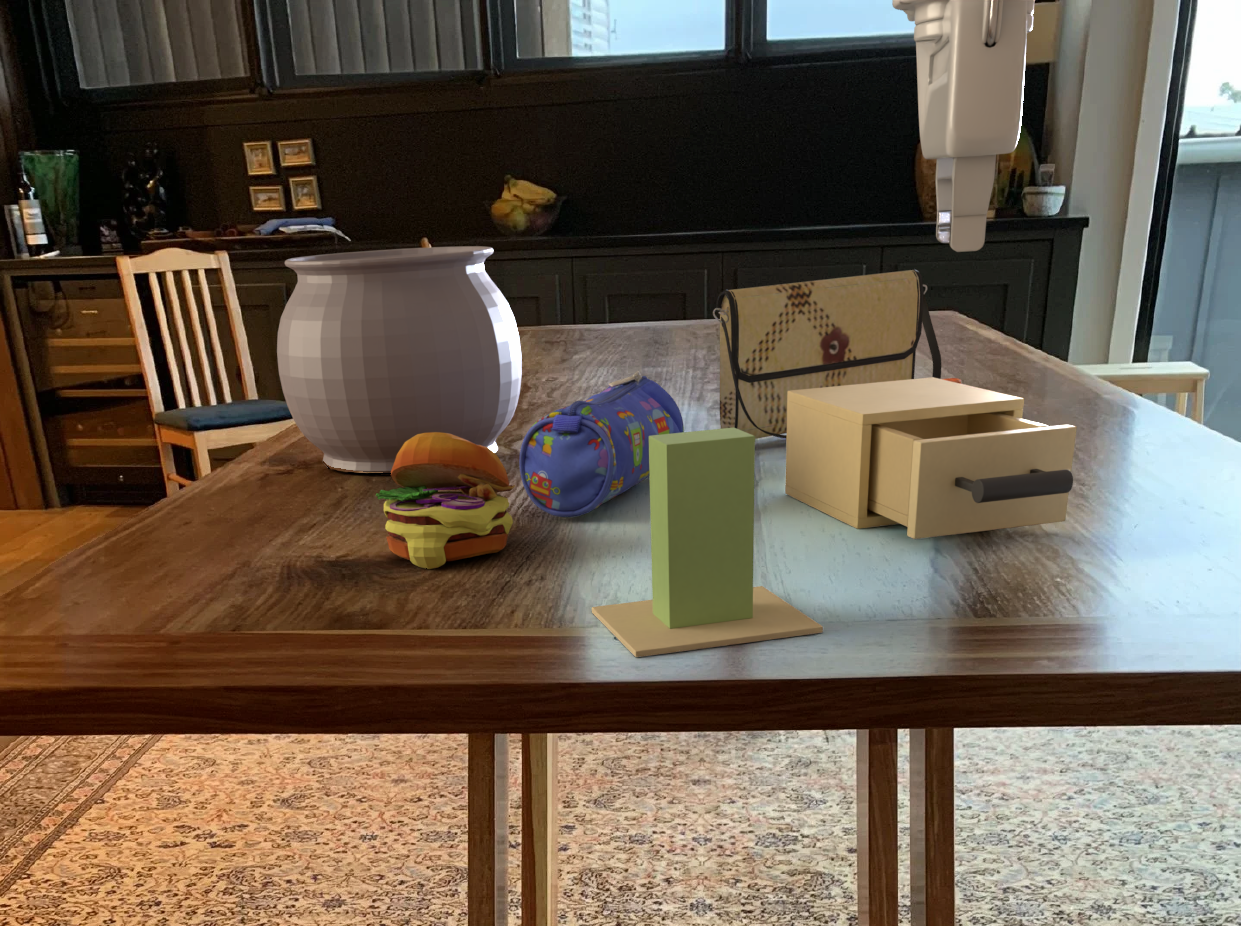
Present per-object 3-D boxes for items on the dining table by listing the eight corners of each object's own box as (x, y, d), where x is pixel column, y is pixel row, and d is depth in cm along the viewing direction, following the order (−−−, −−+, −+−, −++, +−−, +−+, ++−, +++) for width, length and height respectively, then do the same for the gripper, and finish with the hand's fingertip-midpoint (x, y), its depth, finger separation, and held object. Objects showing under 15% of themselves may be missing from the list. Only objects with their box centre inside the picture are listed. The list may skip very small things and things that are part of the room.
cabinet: (1012, 511, 105) (1024, 398, 101) (857, 529, 103) (862, 414, 99) (925, 478, 118) (933, 377, 114) (784, 493, 115) (787, 390, 111)
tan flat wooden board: (762, 591, 89) (762, 585, 89) (823, 632, 80) (823, 626, 80) (591, 612, 86) (591, 606, 86) (635, 657, 78) (635, 651, 78)
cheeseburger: (359, 569, 99) (353, 429, 96) (414, 567, 109) (410, 440, 106) (485, 569, 96) (483, 426, 94) (530, 567, 106) (528, 438, 104)
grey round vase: (499, 481, 126) (481, 254, 117) (255, 485, 131) (220, 267, 122) (548, 435, 148) (536, 241, 139) (338, 440, 152) (313, 252, 143)
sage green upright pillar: (733, 603, 85) (734, 427, 80) (752, 618, 82) (755, 435, 77) (652, 614, 84) (648, 435, 79) (669, 629, 81) (666, 444, 76)
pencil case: (605, 470, 129) (602, 366, 124) (690, 472, 126) (689, 366, 121) (517, 522, 111) (509, 403, 106) (613, 526, 108) (608, 403, 103)
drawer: (1099, 533, 94) (1113, 435, 91) (943, 553, 92) (951, 452, 89) (973, 488, 110) (980, 402, 106) (836, 503, 107) (839, 416, 104)
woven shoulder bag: (748, 454, 132) (749, 292, 125) (705, 446, 137) (704, 290, 130) (954, 416, 146) (966, 268, 139) (908, 410, 151) (917, 267, 144)
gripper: (1069, -74, 61) (1039, 253, 68) (1013, -19, 79) (994, 235, 86) (931, -60, 62) (914, 260, 69) (906, -10, 80) (895, 241, 87)
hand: (958, 246), depth 77 cm, fingers open, 8 cm apart
